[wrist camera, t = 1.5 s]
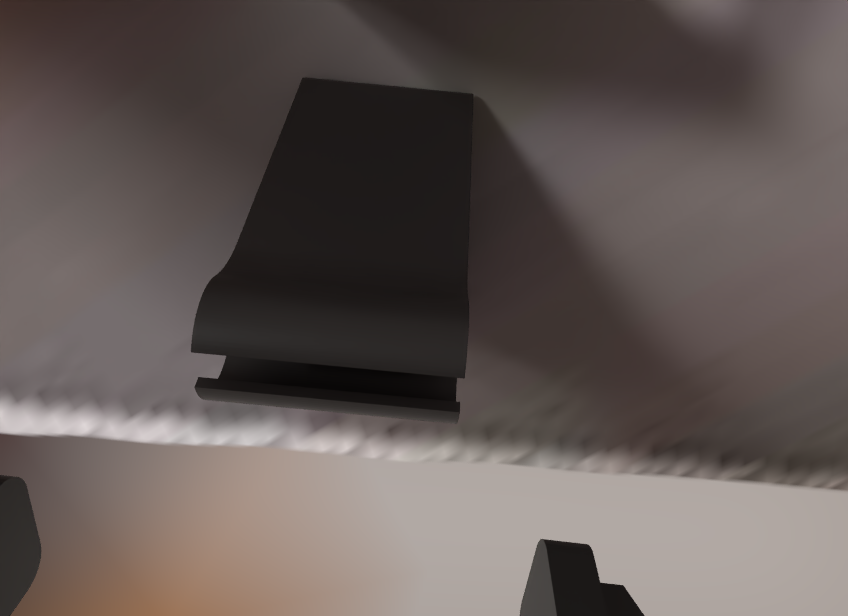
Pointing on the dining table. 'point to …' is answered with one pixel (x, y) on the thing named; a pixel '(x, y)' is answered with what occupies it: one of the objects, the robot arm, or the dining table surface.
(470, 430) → the dining table surface
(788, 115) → the dining table surface
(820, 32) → the dining table surface
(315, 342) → the phone stand
